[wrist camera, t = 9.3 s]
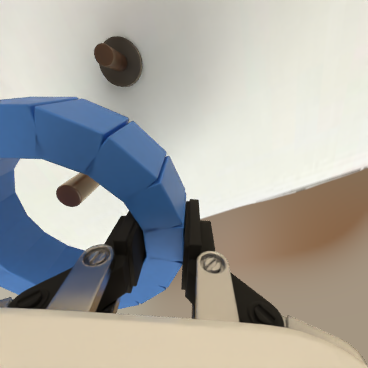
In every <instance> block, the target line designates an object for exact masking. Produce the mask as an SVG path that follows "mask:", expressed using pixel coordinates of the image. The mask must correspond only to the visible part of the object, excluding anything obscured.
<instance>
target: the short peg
mask: <svg viewBox="0 0 368 368" xmlns="http://www.w3.org/2000/svg"><path fill="white" fill-rule="evenodd" d="M94 55H95V59H96V61H97V62H98V63H99V65H100V69H101V71H102V73H103V75H104V76H105V77H106V79H107V80H108V81H110V82H111V83H112V84H114V85H117V86H121V87H128V86H131V85H133V84H134V83H136V82H137V80H138V79H139V77H140V75H141V72H142V59H141V56H140V53H139V51H138V50H137V48H136V47H135V46H134V45H133V44H132V43H131V42H130V41H129V40H127V39H125V38H123V37H118V36H116V37H111V38H109V39H107V40H106V41H105V42H104V43H100V44H98V45H97V46H96V47H95V50H94Z"/></svg>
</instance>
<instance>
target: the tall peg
mask: <svg viewBox="0 0 368 368" xmlns="http://www.w3.org/2000/svg"><path fill="white" fill-rule="evenodd" d="M99 185H100V184H99V183H97V182H96V181H94V180H93V179H92V178H90V177H89V176H88V175H85V174H83V173H79V174H77V175H76V176H74V177H73V178H71V179H70V180H68V181H67V182H65V183H64V184H62V185H61V186H59V187H58V189H57V191H56V195H57V198H58V199H59V201H60V202H61V203H63V204H64V205H66V206H70V207H75V206H78V205H79V204H80V203H81V202H82V201H83V200H84V199H86V198H87V197H88V196H89V195H90V194H91V193H92V192H93V191H94V190H95V189H96V188H97V187H98V186H99Z"/></svg>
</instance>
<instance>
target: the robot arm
mask: <svg viewBox="0 0 368 368" xmlns="http://www.w3.org/2000/svg"><path fill="white" fill-rule="evenodd" d="M145 253H146V249H145V242H144V235H143V230H142V229H141V227H140V226H139V224H138V223H137V221H136V220H135V218H134V217H133V215H132V214H131V212H130V211H129V212H128V214H127V215H126V216H121V217H120V219H119V220H118V222H117V224H116V225H115V227H114V229H113V230H112V232H111V234H110V235H109V237H108V239H107V240H106V242H105V244H100V245H95V246H92V247H90V248H88V249H87V250H86V251H84V252H83V253H82V255H81V256H80V258H79V259H78V261H77V262H76V264H75V265H74V267H72V268H70V269H68V270H66V271H64V272H62V273H60V274H58V275H56V276H53V277H51V278H49V279H47V280H45V281H43V282H41V283H39V284H37V285H35V286H33V287H31V288H29V289H27V290H25V291H24V292H22V293H21V294H19V295H18V296H17V297H16V298H15V299H13V300H12V298H11V297H9V298H6V299H3V300H0V368H368V366H367V363H366V361H365V359H364V358H363V357H362V356H361V354H360V353H359V352H358V351H357V350H356V349H355V348H354V347H353V346H352V345H350V344H349V343H347V342H345V341H344V340H342V339H340V338H338V337H336V336H333V335H331V334H329V333H327V332H325V331H322V330H320V329H318V328H316V327H313V326H311V325H309V324H307V323H305V322H302V321H300V320H298V319H296V318H293V317H291V316H287V317H284V316H282V315H281V314H280V313H279V312H278V310H277V309H276V308H275V307H274V306H273V305H272V304H271V303H270V302H268V301H267V300H266V299H264V298H263V297H262V296H260V295H259V294H257V293H256V292H255V291H254V290H252V289H251V288H250V287H248V286H247V285H246V284H245V283H243V282H242V281H241V280H240V279H238V278H237V277H236V276H234V275H233V274H232V273H230V269H229V264H228V261H227V259H226V258H225V257H224V256H223V255H221V254H219V253H217V252H215V247H214V240H213V234H212V228H211V222H210V221H200V213H199V200H194V199H190V201H186V215H185V235H184V253H183V268H182V270H183V271H182V289H184V290H185V291H186V292H185V297H186V298H187V299H188V300H189V301H190V302H191V303H192V319H188V318H174V317H160V316H144V315H143V316H142V315H129V314H116V312H117V310H118V306H119V303H120V298H121V296H123V295H124V294H126V293H131V292H132V288H133V286H137V283H138V280H139V276H140V273H141V269H142V266H143V261H144V257H145Z"/></svg>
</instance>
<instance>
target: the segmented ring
mask: <svg viewBox="0 0 368 368" xmlns="http://www.w3.org/2000/svg"><path fill="white" fill-rule="evenodd" d="M128 121H129V118H128V117H125V116H123V115H121V114H118V113H116V112H113V111H111V110H109V109H106V108H104V107H102V106H99V105H97V104H94V103H92V102H90V101H87V100H85V99H78V98H77V97H24V98H14V99H4V100H0V287H3V288H5V289H7V290H9V291H11V292H14V293H16V294H18V295H19V294H21V293H22V292H24V291H25V290H27V289H29V288H31V287H33V286H35V285H37V284H39V283H41V282H43V281H45V280H47V279H49V278H51V277H53V276H56V275H58V274H60V273H62V272H64V271H66V270H68V269H70V268H72V267H74V265H75V264H76V262H77V261H78V259H79V258H80V256H81V255H82V253H83V252H84V250H81V249H77V248H74V247H70V246H67V245H66V244H64V243H62V242H60V241H59V240H57V239H55V238H54V237H52V236H50V235H48V234H47V233H45V232H44V231H43V230H42V229H41V228H40V227H39V226H38V225H37V224H36V223H35V222H34V221H33V220H32V219H31V218H30V217H29V216H28V215H27V214H26V212H25V210H24V208H23V206H22V204H21V202H20V200H19V198H18V196H17V195H16V193H15V180H14V168H15V166H16V164H17V163H18V161H19V159H20V158H23V159H44V160H46V161H49V162H52V163H55V164H58V165H60V166H63V167H66V168H69V169H71V170H74V171H77V172H80V173H83V174H85V175H88V176H89V177H90V178H92V179H93V180H94V181H96V182H97V183H99V184H100V185H101V186H103V187H104V188H105V189H107V190H108V191H109V192H111V193H112V194H113V195H115V196H116V197H117V198H119V199H120V200H121V201H123V202H124V204H125V205H126V206H127V208H128V209H129V211H130V212H131V214H132V215H133V217H134V218H135V220H136V221H137V223H138V224H139V226H140V227H141V229H142V230H143V235H144V242H145V249H146V253H145V257H144V261H143V266H142V269H141V273H140V276H139V280H138V283H137V286H133V288H132V292H131V293H126V294H124V295H123V296H121V298H120V303H119V306H118V309H121V308H126V307H130V306H136V305H139V303H141V304H142V303H144V302H146V301H147V300H149V299H151V298H152V297H154V296H156V295H157V294H159V293H161V292H163V291H164V290H166V287H169V285H170V283H171V282H172V280H173V279H174V277H175V276H176V274H177V272H178V271H179V269H180V268H181V266H182V265H183V253H184V235H185V215H186V193H185V188H184V186H183V184H182V182H181V180H180V177H179V175H178V173H177V171H176V169H175V167H174V165H173V163H172V160H171V158H170V157H169V156H166V151H165V150H164V149H163V148H162V147H161V146H159V145H158V144H157V143H156V142H155V141H154V140H153V139H152V138H151V137H150V136H149V135H148V134H147V133H146V132H144V131H143V130H142V129H141V128H140V127H139V126H138V125H137V124H136V123H135V122H134V121H131V122H130V123H128ZM165 156H166V157H165Z"/></svg>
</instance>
